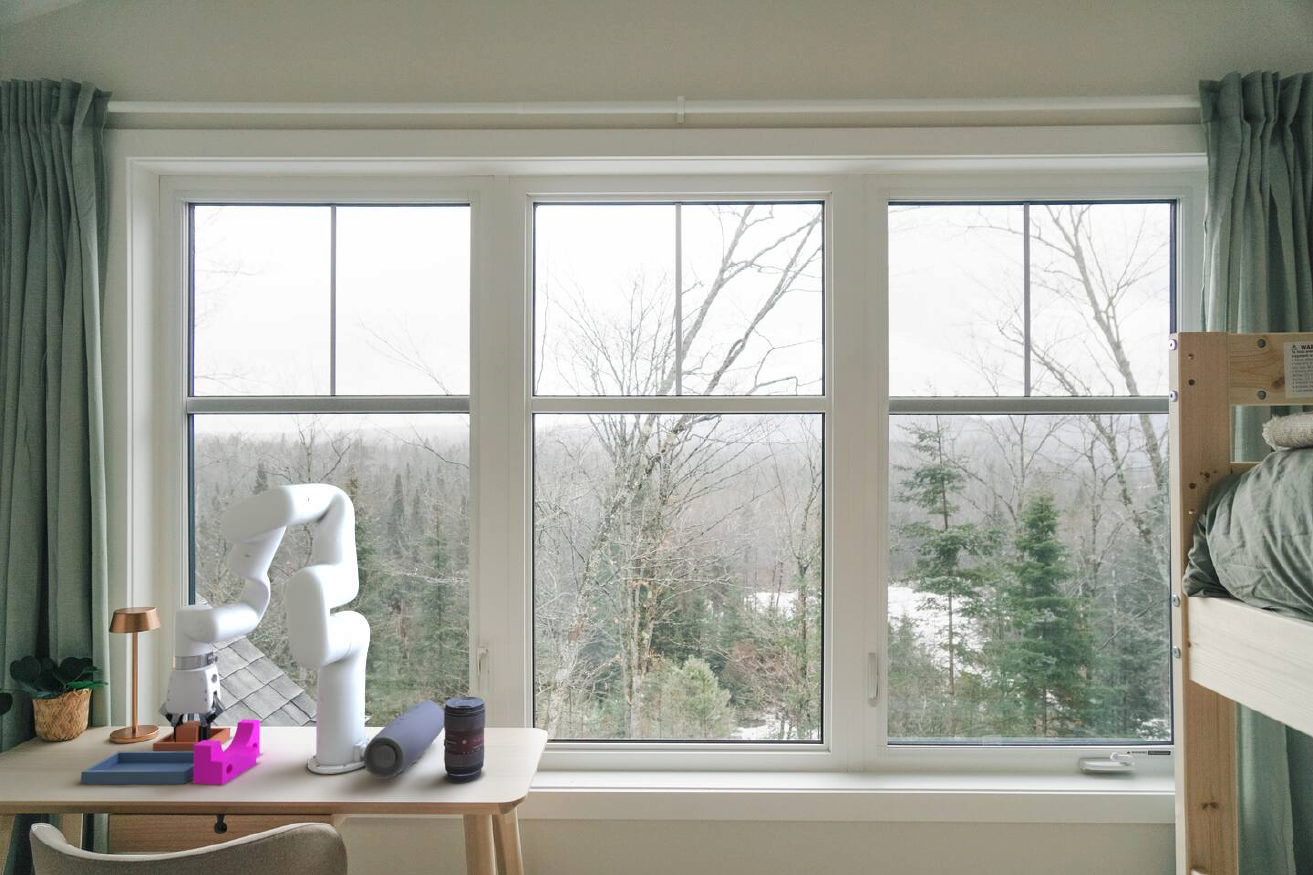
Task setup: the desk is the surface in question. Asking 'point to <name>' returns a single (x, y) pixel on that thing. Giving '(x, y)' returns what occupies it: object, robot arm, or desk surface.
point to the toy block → (227, 755)
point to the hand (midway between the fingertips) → (192, 742)
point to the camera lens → (464, 738)
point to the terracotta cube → (188, 731)
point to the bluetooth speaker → (404, 740)
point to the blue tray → (142, 768)
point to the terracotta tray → (170, 745)
